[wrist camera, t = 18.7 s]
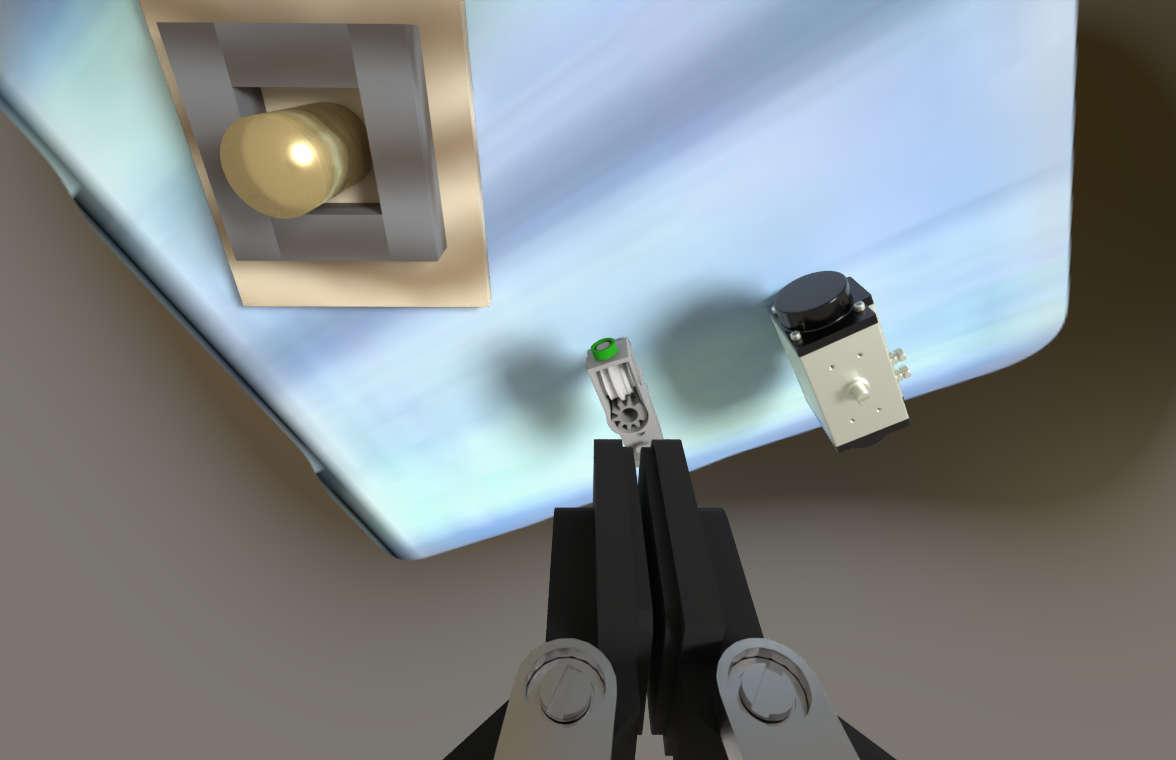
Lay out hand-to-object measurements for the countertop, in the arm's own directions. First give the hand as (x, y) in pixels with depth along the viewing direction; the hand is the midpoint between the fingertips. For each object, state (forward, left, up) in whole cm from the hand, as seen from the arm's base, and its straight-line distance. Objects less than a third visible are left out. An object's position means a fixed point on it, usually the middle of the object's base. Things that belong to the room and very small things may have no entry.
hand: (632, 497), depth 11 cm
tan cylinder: (-2, -17, -30) cm, 34 cm away
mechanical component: (+13, +2, -31) cm, 34 cm away
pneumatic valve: (+10, +16, -31) cm, 37 cm away
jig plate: (-2, -17, -31) cm, 35 cm away
